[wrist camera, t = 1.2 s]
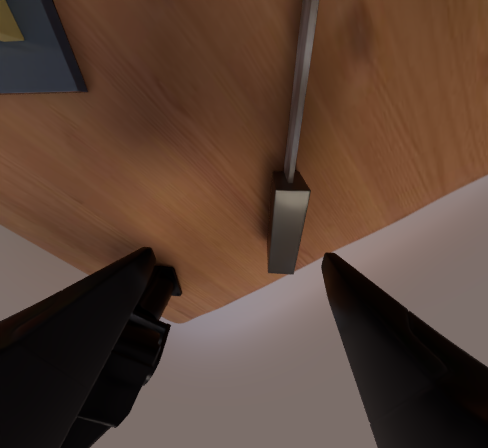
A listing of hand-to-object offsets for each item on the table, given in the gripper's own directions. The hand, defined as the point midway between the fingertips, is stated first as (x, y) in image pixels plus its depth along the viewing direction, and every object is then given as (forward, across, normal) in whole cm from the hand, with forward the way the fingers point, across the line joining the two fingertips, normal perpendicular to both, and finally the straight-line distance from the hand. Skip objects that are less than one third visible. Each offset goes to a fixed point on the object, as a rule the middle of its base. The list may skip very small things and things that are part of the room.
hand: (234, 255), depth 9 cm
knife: (+11, -4, -2) cm, 12 cm away
